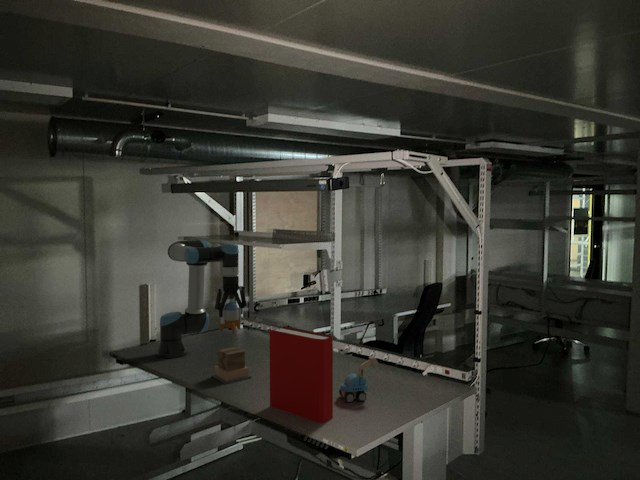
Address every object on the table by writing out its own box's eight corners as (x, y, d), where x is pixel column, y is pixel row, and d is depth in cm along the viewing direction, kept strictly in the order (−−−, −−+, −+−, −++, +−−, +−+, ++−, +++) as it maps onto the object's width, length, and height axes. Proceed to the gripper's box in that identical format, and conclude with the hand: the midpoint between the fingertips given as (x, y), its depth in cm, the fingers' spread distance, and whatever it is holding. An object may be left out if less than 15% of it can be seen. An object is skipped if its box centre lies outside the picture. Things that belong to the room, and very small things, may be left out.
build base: (212, 376, 246) (211, 366, 246) (237, 370, 255) (237, 361, 254) (225, 384, 235) (224, 373, 235) (251, 378, 243) (251, 367, 243)
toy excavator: (381, 399, 215) (381, 359, 214) (344, 403, 210) (344, 363, 210) (373, 392, 223) (373, 354, 223) (337, 396, 219) (337, 357, 218)
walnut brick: (218, 366, 246) (218, 349, 245) (235, 362, 251) (234, 347, 251) (227, 371, 238) (227, 354, 238) (244, 367, 243) (244, 351, 243)
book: (269, 406, 208) (269, 329, 206) (283, 400, 214) (282, 326, 212) (321, 423, 190) (321, 339, 189) (334, 417, 197) (334, 335, 195)
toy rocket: (238, 336, 237) (231, 305, 235) (217, 338, 239) (210, 308, 237) (245, 328, 247) (238, 299, 244) (225, 330, 249) (218, 302, 247)
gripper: (213, 278, 233) (214, 326, 234) (253, 274, 245) (254, 321, 247) (206, 276, 239) (207, 324, 240) (246, 273, 251) (246, 318, 253)
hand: (231, 322), depth 243 cm, fingers closed on toy rocket, 8 cm apart
